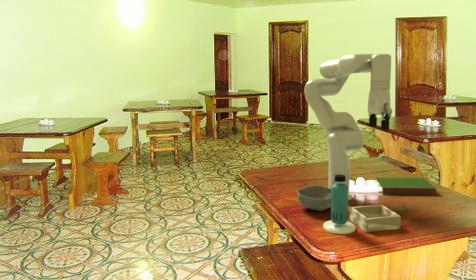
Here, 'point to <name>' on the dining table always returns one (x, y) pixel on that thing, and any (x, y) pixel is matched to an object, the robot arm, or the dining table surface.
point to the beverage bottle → (339, 200)
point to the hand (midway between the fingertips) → (378, 128)
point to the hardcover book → (406, 186)
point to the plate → (339, 227)
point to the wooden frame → (374, 218)
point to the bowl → (315, 197)
